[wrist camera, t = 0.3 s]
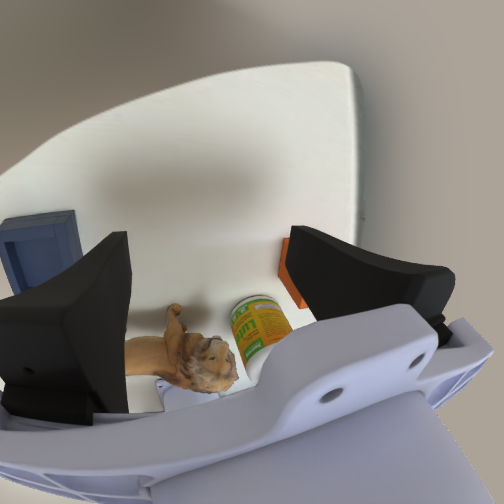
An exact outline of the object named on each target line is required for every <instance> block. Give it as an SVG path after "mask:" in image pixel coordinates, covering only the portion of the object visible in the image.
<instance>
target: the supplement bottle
mask: <svg viewBox="0 0 504 504" xmlns="http://www.w3.org/2000/svg"><path fill="white" fill-rule="evenodd" d="M230 325H231V329H232V332H233V335H234V338H235V341H236V344H237V347H238V350H239V353H240V355H241V358H242V361H243V364H244V367H245V370H246V372H247V375H248V377H249V379H250V380H251V381H252V382H254V383H256V384H258V381H259V378H260V374H261V370H262V365H263V363H264V361H265V360H266V358H267V356H268V355H269V353H270V351H271V350H272V348H273V347H274V345H275V344H276V343H278V342H279V341H280V340H282V339H283V338H284V337H286V336H287V335H288V334H290V333H291V332H292V331H293V329H292V328H291V326H290V324H289V322H288V320H287V319H286V317H285V315H284V313H283V311H282V310H281V308H280V306H279V304H278V303H277V302H276V301H275V300H274V299H272V298H270V297H267V296H255V297H251V298H248V299H246V300H244V301H242V302H241V303H239V304H238V305H237V306H236V307H235V308H234V309H233V311H232V313H231V316H230Z"/></svg>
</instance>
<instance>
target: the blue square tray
mask: <svg viewBox="0 0 504 504" xmlns="http://www.w3.org/2000/svg"><path fill="white" fill-rule="evenodd" d="M82 257H83V254H82V249H81V245H80V240H79V235H78V229H77V224H76V218H75V212H74V210H71V211H62V212H54V213H46V214H38V215H31V216H24V217H17V218H10V219H6V220H4V221H3V222H2V223H1V225H0V258H1V261H2V264H3V267H4V270H5V272H6V275H7V278H8V281H9V283H10V286H11V288H12V291H13V293H14V295H17V294H19V293H22V292H24V291H27V290H29V289H31V288H34V287H36V286H38V285H40V284H42V283H44V282H46V281H47V280H49V279H51V278H53V277H55V276H56V275H58V274H60V273H61V272H63V271H64V270H66V269H67V268H69V267H70V266H72V265H73V264H75V263H76V262H77V261H78V260H80V259H81V258H82Z"/></svg>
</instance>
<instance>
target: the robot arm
mask: <svg viewBox="0 0 504 504" xmlns="http://www.w3.org/2000/svg"><path fill="white" fill-rule="evenodd" d="M285 267H286V269H287V271H288V274H289V276H290V278H291V280H292V282H293V284H294V285H295V287H296V289H297V290H298V292H299V293H300V295H301V296H302V298H303V299H304V301H305V303H306V304H307V306H308V307H309V309H310V310H311V312H312V313H313V315H314V317H315V319H316V320H317V322H314V323H311V324H309V325H306V326H303V327H301V328H298V329H295V330H293V331H292V332H291V333H290V334H288V335H287V336H286V337H284V338H283V339H282V340H280V341H279V342H278V343H276V344H275V345H274V347H273V348H272V350H271V351H270V353H269V355H268V356H267V358H266V360H265V361H264V363H263V365H262V370H261V374H260V378H259V381H258V384H257V385H256V386H254V387H251V388H248V389H245V390H242V391H239V392H236V393H233V394H230V395H227V396H224V397H221V398H220V393H211V394H208V393H200V392H197V393H196V392H193V391H192V390H189V389H187V390H185V389H183V388H182V387H177V386H174V385H171V384H169V383H168V382H167V381H165V380H158V381H156V387H157V390H158V393H159V396H160V399H161V401H162V404H163V407H164V410H165V412H160V413H133V414H129V409H128V401H127V391H126V378H125V346H124V344H125V331H126V324H127V317H128V310H129V304H130V297H131V286H132V270H131V263H130V255H129V247H128V238H127V231H120V232H112V233H110V234H109V235H108V236H107V237H106V238H104V239H103V240H102V241H101V242H100V243H99V244H98V245H97V246H95V247H94V248H93V249H92V250H91V251H90V252H88V253H87V254H86V255H85V256H83V257H82V258H81V259H80V260H78V261H77V262H76V263H75V264H73V265H72V266H70V267H69V268H67V269H66V270H64V271H63V272H61V273H60V274H58V275H56V276H55V277H53V278H51V279H49V280H47V281H46V282H44V283H42V284H40V285H38V286H36V287H34V288H31V289H29V290H27V291H24V292H22V293H19V294H17V295H14V296H11V297H8V298H5V299H2V300H0V377H1V378H2V379H3V381H4V382H5V387H4V391H3V392H2V391H1V390H0V476H1V477H2V478H4V479H6V480H9V481H12V482H15V483H18V484H21V485H24V486H28V487H30V488H34V489H37V490H40V491H44V492H47V493H51V494H55V495H59V496H63V497H67V498H72V499H77V500H81V501H87V502H92V503H99V504H495V502H494V500H493V499H492V497H491V496H490V494H489V492H488V490H487V489H486V487H485V486H484V484H483V482H482V481H481V479H480V477H479V476H478V474H477V473H476V471H475V470H474V468H473V467H472V465H471V463H470V462H469V460H468V459H467V457H466V456H465V454H464V453H463V451H462V450H461V448H460V447H459V445H458V444H457V442H456V441H455V440H454V438H453V437H452V435H451V434H450V432H449V431H448V430H447V428H446V427H445V425H444V424H443V422H442V421H441V419H440V418H439V417H438V415H437V414H436V412H435V411H436V410H438V409H439V408H440V407H441V406H442V405H444V404H445V403H446V402H448V401H449V400H450V399H451V398H453V397H454V396H455V395H456V394H457V393H458V392H460V391H461V390H462V389H464V388H465V387H466V385H467V384H468V383H469V382H470V381H471V380H472V379H473V378H474V376H475V375H476V374H477V373H478V372H479V370H480V369H481V368H482V367H483V365H484V364H485V363H486V361H487V360H488V359H489V358H490V356H491V355H492V353H493V352H494V349H493V348H492V347H491V345H490V344H489V343H488V342H487V341H486V340H485V339H484V338H483V337H482V336H481V335H480V334H479V333H478V332H477V331H476V330H475V329H474V328H473V327H472V326H471V324H469V322H468V321H466V319H464V318H460V319H458V320H456V321H454V322H452V323H450V324H449V325H448V326H446V325H445V324H444V323H443V322H444V321H445V317H444V315H443V314H442V311H443V309H444V307H445V305H446V304H447V302H448V300H449V298H450V296H451V294H452V292H453V289H454V286H455V274H454V273H453V272H452V271H451V270H450V269H449V268H447V267H443V266H434V265H422V264H417V263H410V262H406V261H400V260H397V259H393V258H389V257H385V256H381V255H378V254H375V253H372V252H369V251H366V250H363V249H361V248H358V247H356V246H353V245H351V244H348V243H346V242H344V241H342V240H339V239H337V238H335V237H333V236H330V235H328V234H326V233H323V232H321V231H319V230H316V229H314V228H311V227H308V226H292V227H291V233H290V238H289V243H288V249H287V254H286V259H285Z"/></svg>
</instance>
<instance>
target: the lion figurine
mask: <svg viewBox="0 0 504 504" xmlns="http://www.w3.org/2000/svg"><path fill="white" fill-rule="evenodd" d="M181 312H182V308H181V306H179V305H177V304H173V305H172V306H170V307H169V309H168V311H167V315H166V317H167V321H168V324H167V329H166V331H165V333H164V337H156V336H142V337H136V338H132V339H130V340H128V341H126V342H125V344H124V346H125V376H130V375H153V376H159V377H161V378H163V379H164V380H165V381H167V382H168V383H169V384H171V385H174V386H177V387H182V388H183V389H185V390H187V389H189V390H192V391H193V392H196V393H197V392H200V393H208V394H211V393H220V392H221V391H227V390H228V389H229V388H230V387H231V386H232V384H234V381H236V380H238V379H239V377H238V374H237V372H236V370H237V369H236V362H235V356H234V354H233V353H232V352H231V351H230V350H229V344H228V343H227V342H226V341H223V340H222V338H221V337H220V336H213V337H212V338H204V337H203V336H202V335H201V334H200V333H185V331H186V330H187V329H186V326H185V325H184V324H180V323H179V321H178V319H177V317H176V316H178V315H180V314H181ZM126 331H127V330H126ZM126 331H125V334H126Z"/></svg>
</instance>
